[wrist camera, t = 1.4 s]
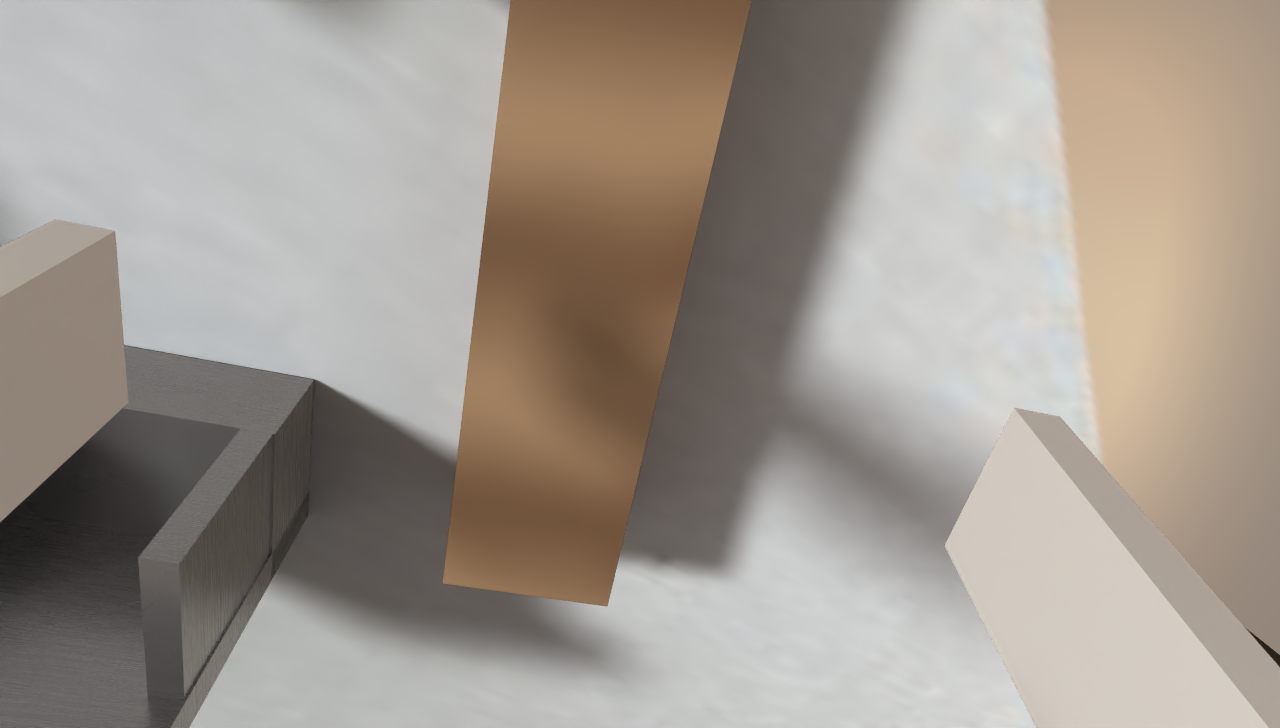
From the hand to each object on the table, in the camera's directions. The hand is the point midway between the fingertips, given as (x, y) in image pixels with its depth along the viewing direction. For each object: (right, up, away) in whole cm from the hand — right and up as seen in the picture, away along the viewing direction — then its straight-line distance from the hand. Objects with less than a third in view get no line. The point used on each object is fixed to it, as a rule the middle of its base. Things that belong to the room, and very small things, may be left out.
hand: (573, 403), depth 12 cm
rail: (0, +5, +10) cm, 11 cm away
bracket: (-13, -1, +12) cm, 18 cm away
